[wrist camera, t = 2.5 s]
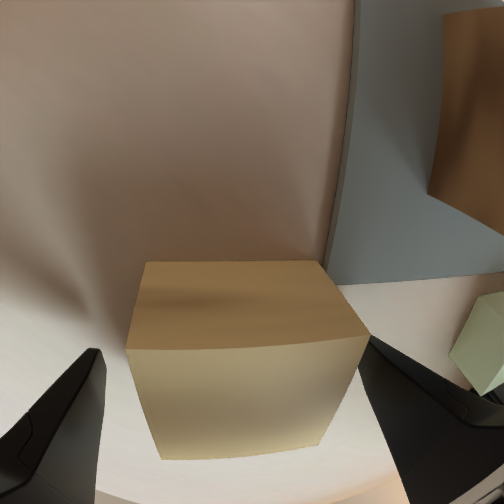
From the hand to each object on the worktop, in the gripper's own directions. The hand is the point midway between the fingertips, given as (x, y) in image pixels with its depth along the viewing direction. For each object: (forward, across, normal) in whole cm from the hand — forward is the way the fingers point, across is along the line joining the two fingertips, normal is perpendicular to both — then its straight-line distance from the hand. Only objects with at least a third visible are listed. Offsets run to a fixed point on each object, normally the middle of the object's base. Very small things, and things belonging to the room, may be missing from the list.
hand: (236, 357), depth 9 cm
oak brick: (+2, 0, 0) cm, 2 cm away
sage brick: (+2, -16, +2) cm, 16 cm away
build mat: (+1, -10, -9) cm, 14 cm away
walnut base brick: (+1, -10, -9) cm, 13 cm away
